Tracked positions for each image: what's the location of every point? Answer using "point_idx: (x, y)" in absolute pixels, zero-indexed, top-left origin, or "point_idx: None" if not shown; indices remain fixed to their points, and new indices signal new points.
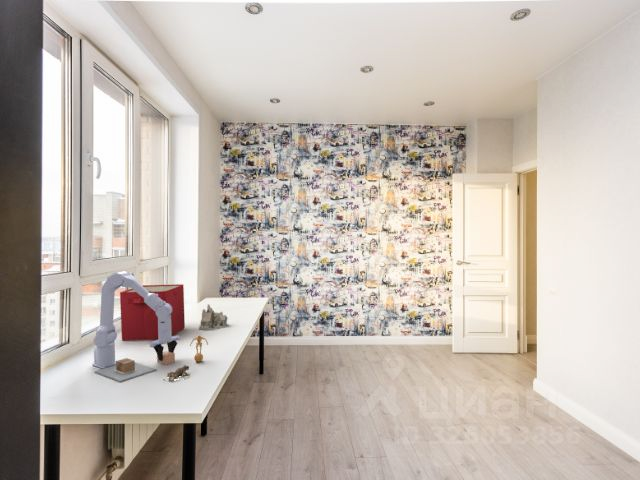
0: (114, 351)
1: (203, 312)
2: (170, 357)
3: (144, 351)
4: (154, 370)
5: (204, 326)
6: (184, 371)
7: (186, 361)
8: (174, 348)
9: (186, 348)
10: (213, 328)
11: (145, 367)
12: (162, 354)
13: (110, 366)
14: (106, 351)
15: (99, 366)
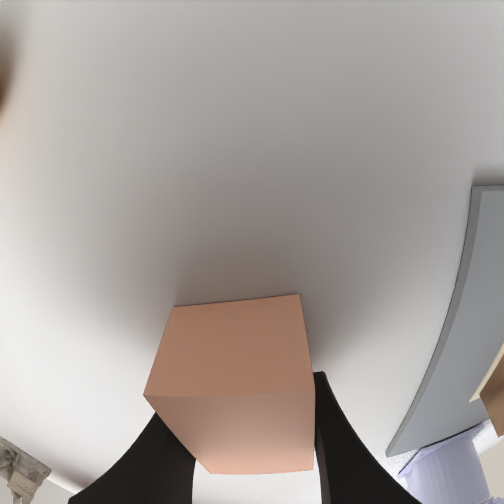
0: (440, 496)
1: (27, 500)
2: (224, 357)
3: (252, 494)
4: (492, 188)
5: (33, 468)
6: None
7: (62, 210)
8: (122, 462)
9: (68, 430)
10: (12, 447)
11: (473, 323)
12: (325, 434)
13: (473, 425)
14: (480, 487)
15: (475, 435)
